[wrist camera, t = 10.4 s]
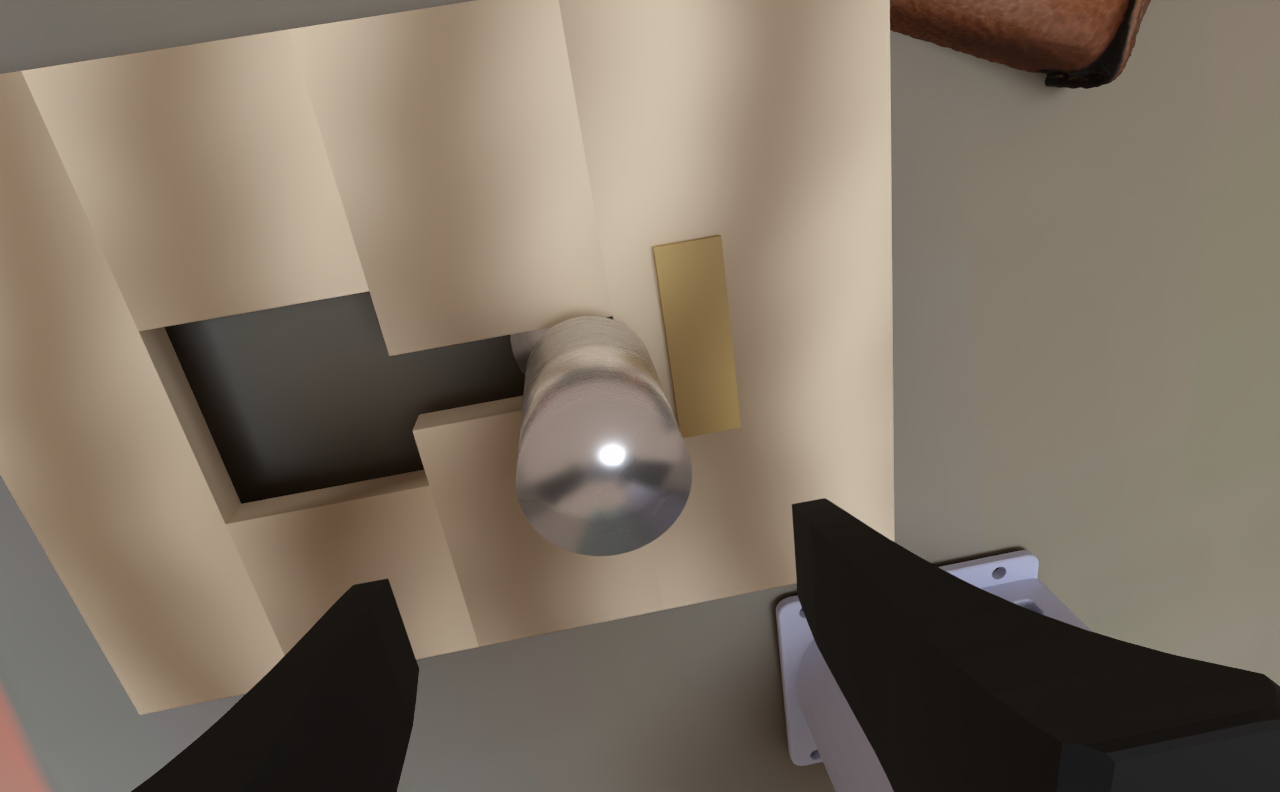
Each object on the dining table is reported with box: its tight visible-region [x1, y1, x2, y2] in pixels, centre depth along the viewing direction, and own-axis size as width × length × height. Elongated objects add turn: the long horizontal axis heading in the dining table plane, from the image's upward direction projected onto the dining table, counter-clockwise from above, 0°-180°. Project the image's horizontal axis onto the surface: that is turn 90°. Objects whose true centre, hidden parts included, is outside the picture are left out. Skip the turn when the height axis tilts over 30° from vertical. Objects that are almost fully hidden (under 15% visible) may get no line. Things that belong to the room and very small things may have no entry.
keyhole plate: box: [0, 0, 894, 715], centre depth 19 cm, size 22×16×3 cm
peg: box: [511, 316, 692, 556], centre depth 16 cm, size 4×4×9 cm
